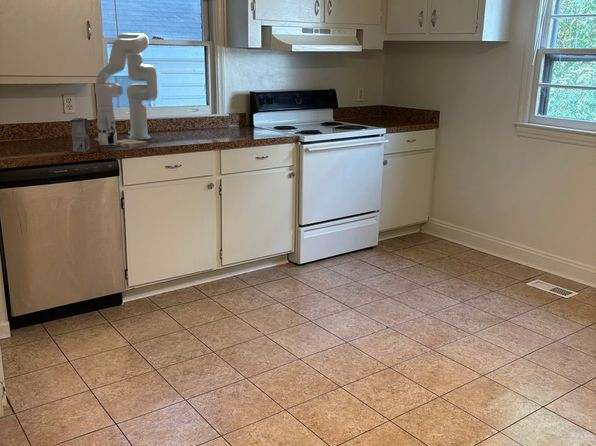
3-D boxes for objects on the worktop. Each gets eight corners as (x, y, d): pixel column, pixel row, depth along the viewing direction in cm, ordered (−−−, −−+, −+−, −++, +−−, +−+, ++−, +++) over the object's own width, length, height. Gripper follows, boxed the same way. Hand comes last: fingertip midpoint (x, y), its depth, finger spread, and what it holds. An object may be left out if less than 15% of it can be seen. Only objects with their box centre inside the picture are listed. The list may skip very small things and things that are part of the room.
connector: (93, 144, 317) (93, 133, 315) (113, 142, 327) (113, 131, 325) (99, 145, 315) (98, 134, 313) (119, 143, 324) (118, 131, 322)
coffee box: (77, 148, 317) (75, 117, 312) (90, 149, 317) (87, 118, 313) (72, 151, 308) (70, 119, 304) (85, 151, 308) (83, 120, 304)
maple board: (111, 144, 332) (111, 141, 332) (129, 142, 341) (129, 138, 341) (129, 147, 323) (129, 144, 322) (147, 145, 332) (147, 141, 332)
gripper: (89, 107, 318) (92, 142, 323) (109, 110, 308) (111, 145, 313) (102, 106, 324) (104, 140, 329) (121, 109, 314) (123, 143, 319)
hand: (108, 142), depth 321 cm, fingers closed on connector, 4 cm apart
